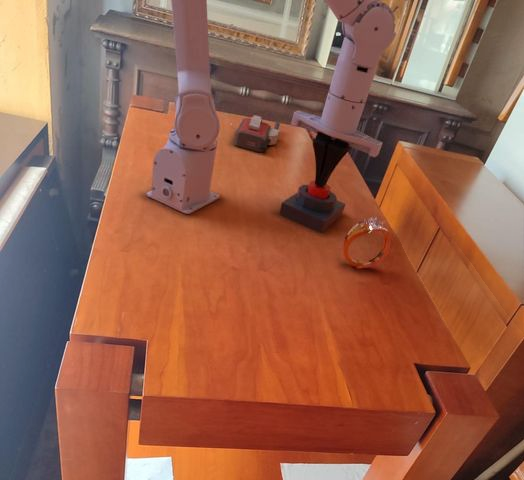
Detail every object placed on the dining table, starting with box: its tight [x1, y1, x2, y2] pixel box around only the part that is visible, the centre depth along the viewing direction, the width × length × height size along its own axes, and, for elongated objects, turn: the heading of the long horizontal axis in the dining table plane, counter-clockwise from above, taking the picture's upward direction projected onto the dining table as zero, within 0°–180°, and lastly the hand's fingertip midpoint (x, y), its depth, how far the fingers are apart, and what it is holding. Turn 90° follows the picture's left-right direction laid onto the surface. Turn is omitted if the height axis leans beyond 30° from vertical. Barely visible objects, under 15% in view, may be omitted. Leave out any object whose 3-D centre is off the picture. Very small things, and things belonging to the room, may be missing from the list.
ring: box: [342, 216, 392, 270], centre depth 71 cm, size 7×3×8 cm, turn 93°
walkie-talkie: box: [233, 114, 281, 153], centre depth 107 cm, size 9×4×20 cm
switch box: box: [278, 184, 346, 234], centre depth 83 cm, size 10×8×4 cm
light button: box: [307, 180, 331, 199], centre depth 81 cm, size 4×4×2 cm
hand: (320, 184), depth 81 cm, fingers closed
